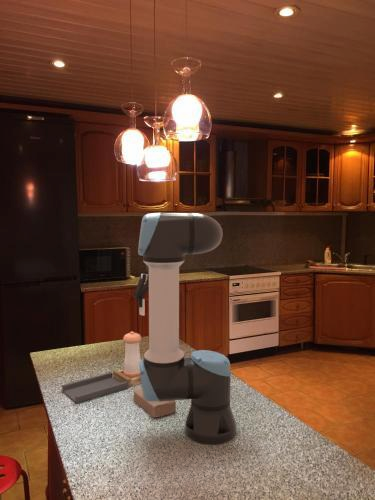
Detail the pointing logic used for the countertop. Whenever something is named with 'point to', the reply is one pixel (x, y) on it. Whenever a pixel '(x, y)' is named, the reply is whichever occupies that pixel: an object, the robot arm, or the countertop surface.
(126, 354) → the salt shaker
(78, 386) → the grey tray
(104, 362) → the countertop surface
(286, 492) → the countertop surface
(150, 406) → the brick
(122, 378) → the oak cradle
